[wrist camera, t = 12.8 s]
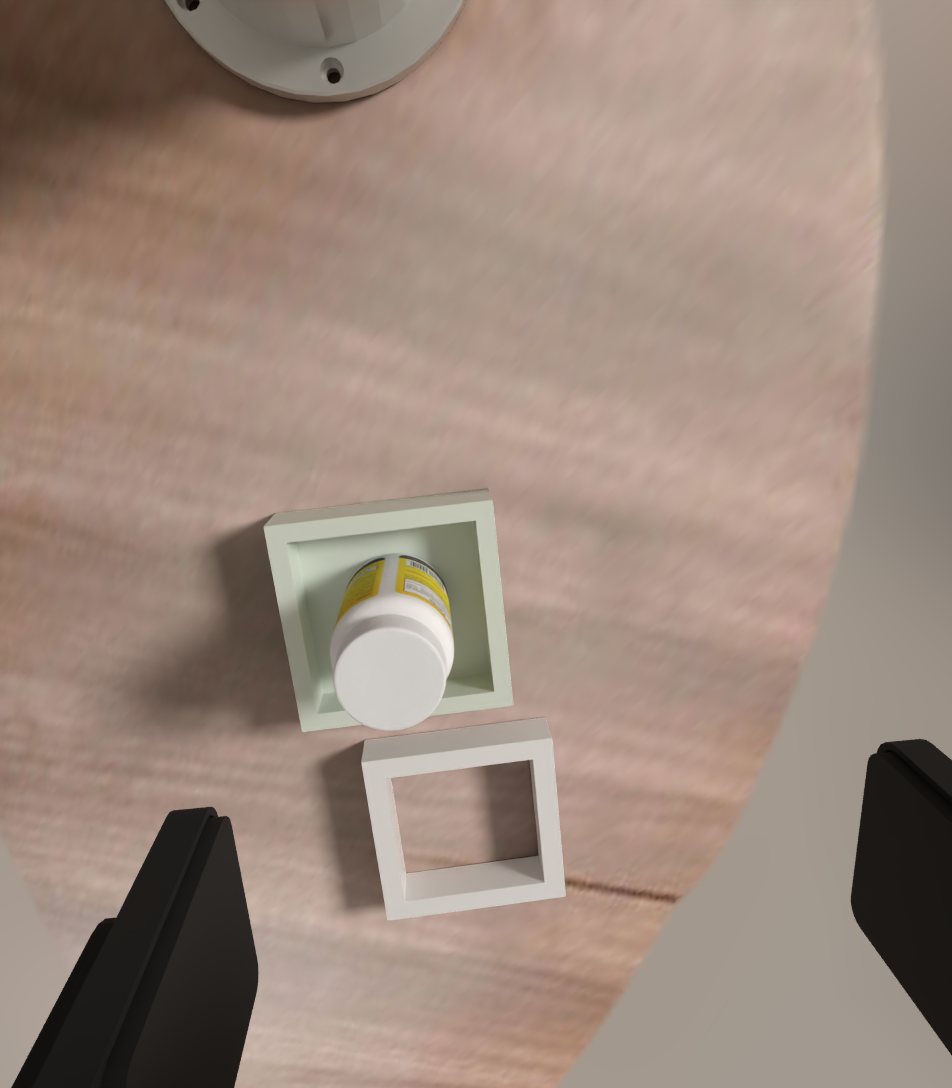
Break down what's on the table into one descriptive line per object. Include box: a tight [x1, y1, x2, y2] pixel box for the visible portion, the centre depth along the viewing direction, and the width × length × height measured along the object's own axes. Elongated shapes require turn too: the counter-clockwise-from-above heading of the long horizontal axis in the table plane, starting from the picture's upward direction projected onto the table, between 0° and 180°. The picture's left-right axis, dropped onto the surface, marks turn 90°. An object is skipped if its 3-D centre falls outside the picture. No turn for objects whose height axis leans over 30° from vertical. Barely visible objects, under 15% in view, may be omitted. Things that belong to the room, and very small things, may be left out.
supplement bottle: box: [330, 553, 454, 731], centre depth 30 cm, size 5×5×8 cm
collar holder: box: [361, 717, 566, 921], centre depth 36 cm, size 9×9×2 cm
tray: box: [264, 489, 513, 732], centre depth 33 cm, size 10×10×2 cm
